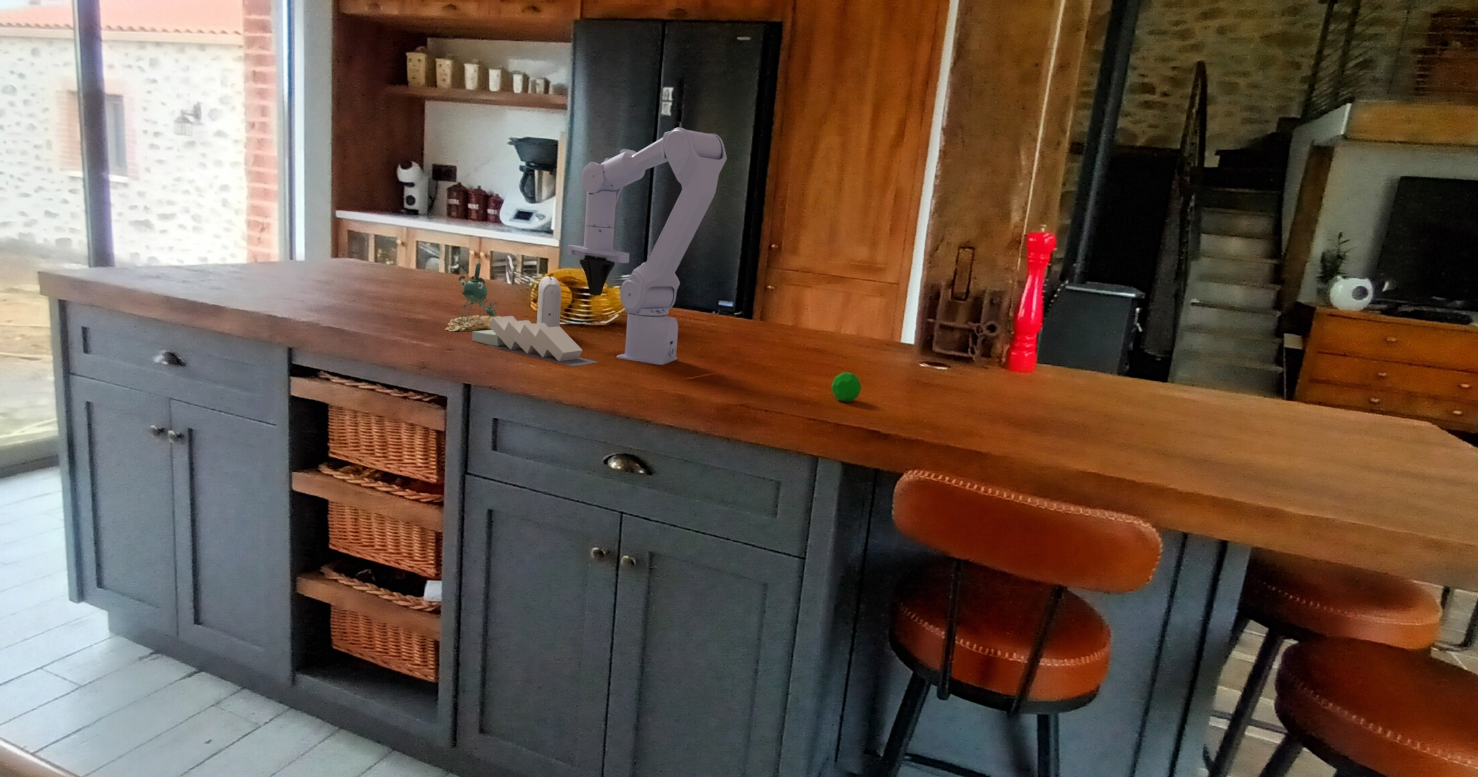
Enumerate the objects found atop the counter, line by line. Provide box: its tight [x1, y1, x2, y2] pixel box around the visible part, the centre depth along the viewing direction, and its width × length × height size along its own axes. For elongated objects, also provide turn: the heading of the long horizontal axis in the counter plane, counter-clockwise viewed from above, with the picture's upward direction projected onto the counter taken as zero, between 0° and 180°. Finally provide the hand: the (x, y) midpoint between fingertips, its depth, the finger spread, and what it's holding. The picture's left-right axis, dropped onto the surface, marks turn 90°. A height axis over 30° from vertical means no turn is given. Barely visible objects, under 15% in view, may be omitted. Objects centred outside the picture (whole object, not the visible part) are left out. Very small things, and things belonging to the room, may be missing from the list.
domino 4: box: [536, 326, 583, 361], centre depth 159 cm, size 2×5×7 cm
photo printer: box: [536, 275, 562, 327], centre depth 182 cm, size 10×4×12 cm, turn 17°
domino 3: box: [520, 322, 553, 357], centre depth 161 cm, size 2×5×7 cm
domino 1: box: [489, 315, 521, 350], centre depth 165 cm, size 2×5×7 cm
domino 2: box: [505, 319, 537, 354], centre depth 163 cm, size 2×5×7 cm
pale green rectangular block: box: [471, 329, 506, 346], centre depth 168 cm, size 2×5×7 cm
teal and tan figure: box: [444, 261, 502, 332], centre depth 183 cm, size 10×18×15 cm, turn 155°
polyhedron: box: [831, 372, 862, 403], centre depth 148 cm, size 5×5×5 cm
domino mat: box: [485, 344, 600, 367], centre depth 162 cm, size 22×7×1 cm, turn 57°
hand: (595, 295), depth 175 cm, fingers closed
